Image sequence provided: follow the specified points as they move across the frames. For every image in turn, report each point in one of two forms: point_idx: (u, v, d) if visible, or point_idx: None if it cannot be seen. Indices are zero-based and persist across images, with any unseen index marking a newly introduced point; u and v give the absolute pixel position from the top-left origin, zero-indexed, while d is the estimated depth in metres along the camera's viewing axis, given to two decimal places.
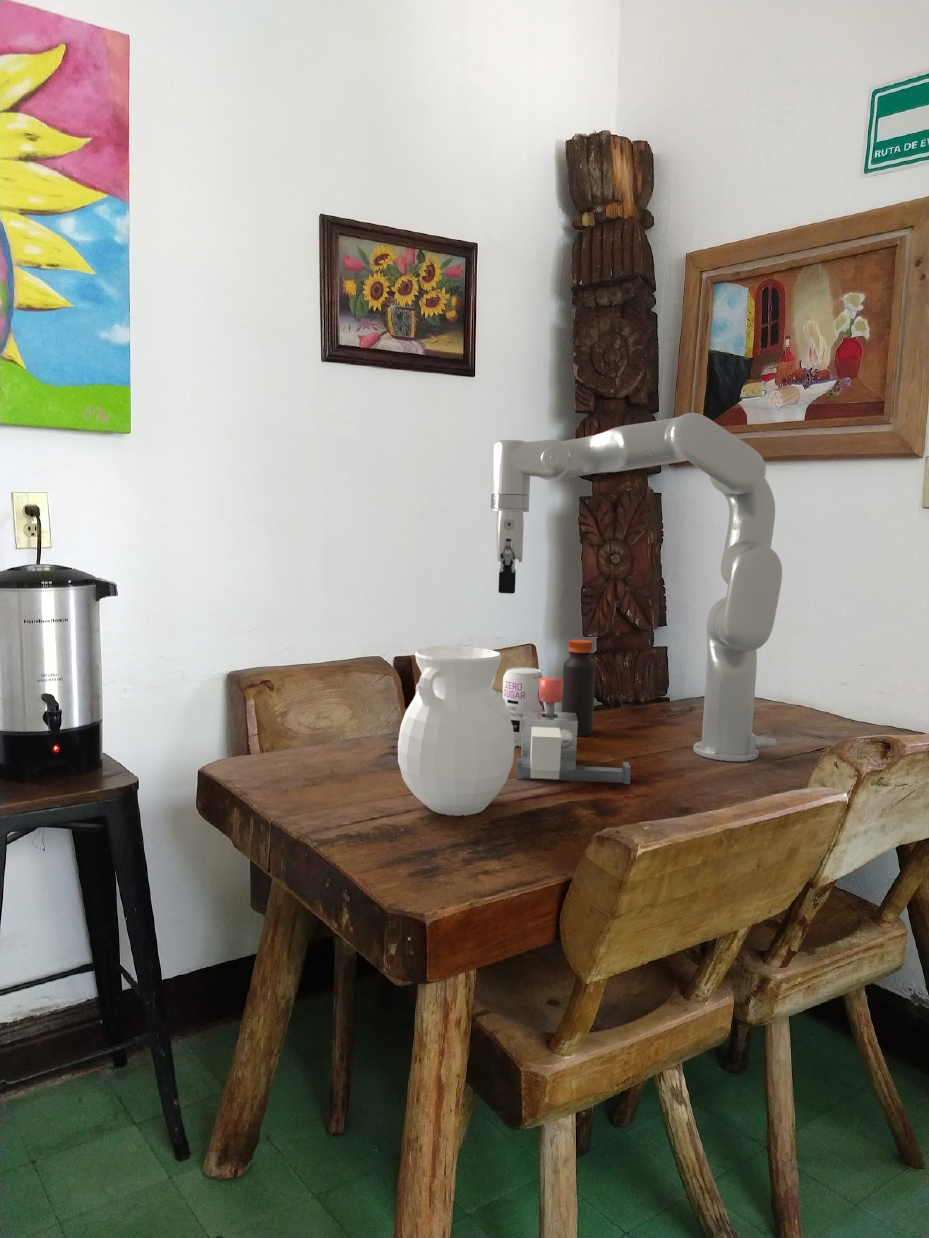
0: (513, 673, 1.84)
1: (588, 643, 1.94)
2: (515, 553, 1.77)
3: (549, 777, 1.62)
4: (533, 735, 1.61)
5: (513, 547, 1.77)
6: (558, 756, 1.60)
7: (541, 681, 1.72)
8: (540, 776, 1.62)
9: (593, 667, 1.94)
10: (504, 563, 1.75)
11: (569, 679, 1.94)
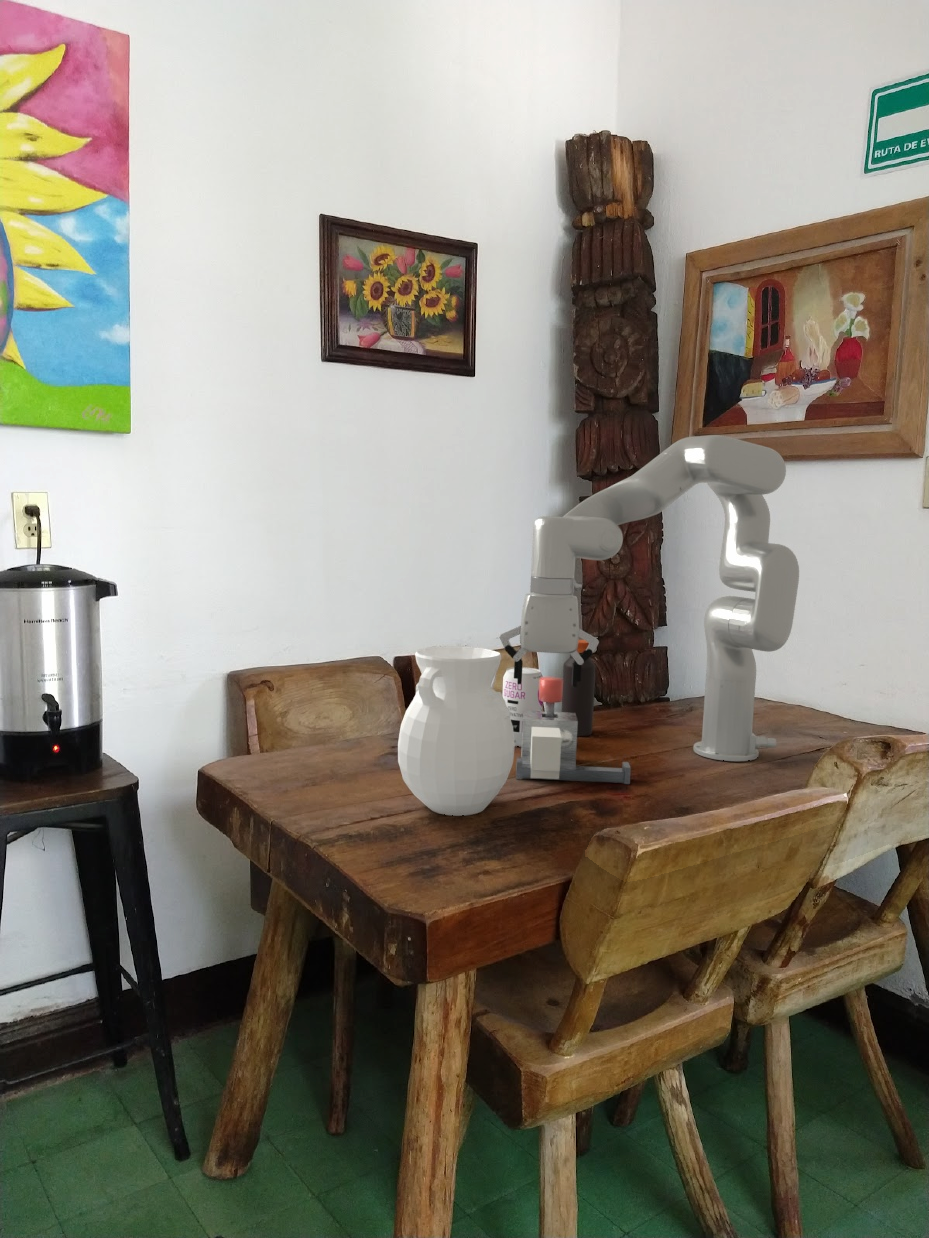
0: (513, 673, 1.84)
1: (588, 643, 1.94)
2: None
3: (549, 777, 1.62)
4: (533, 735, 1.61)
5: None
6: (558, 756, 1.60)
7: (541, 681, 1.72)
8: (540, 776, 1.62)
9: (593, 667, 1.94)
10: (592, 653, 1.61)
11: (569, 679, 1.94)
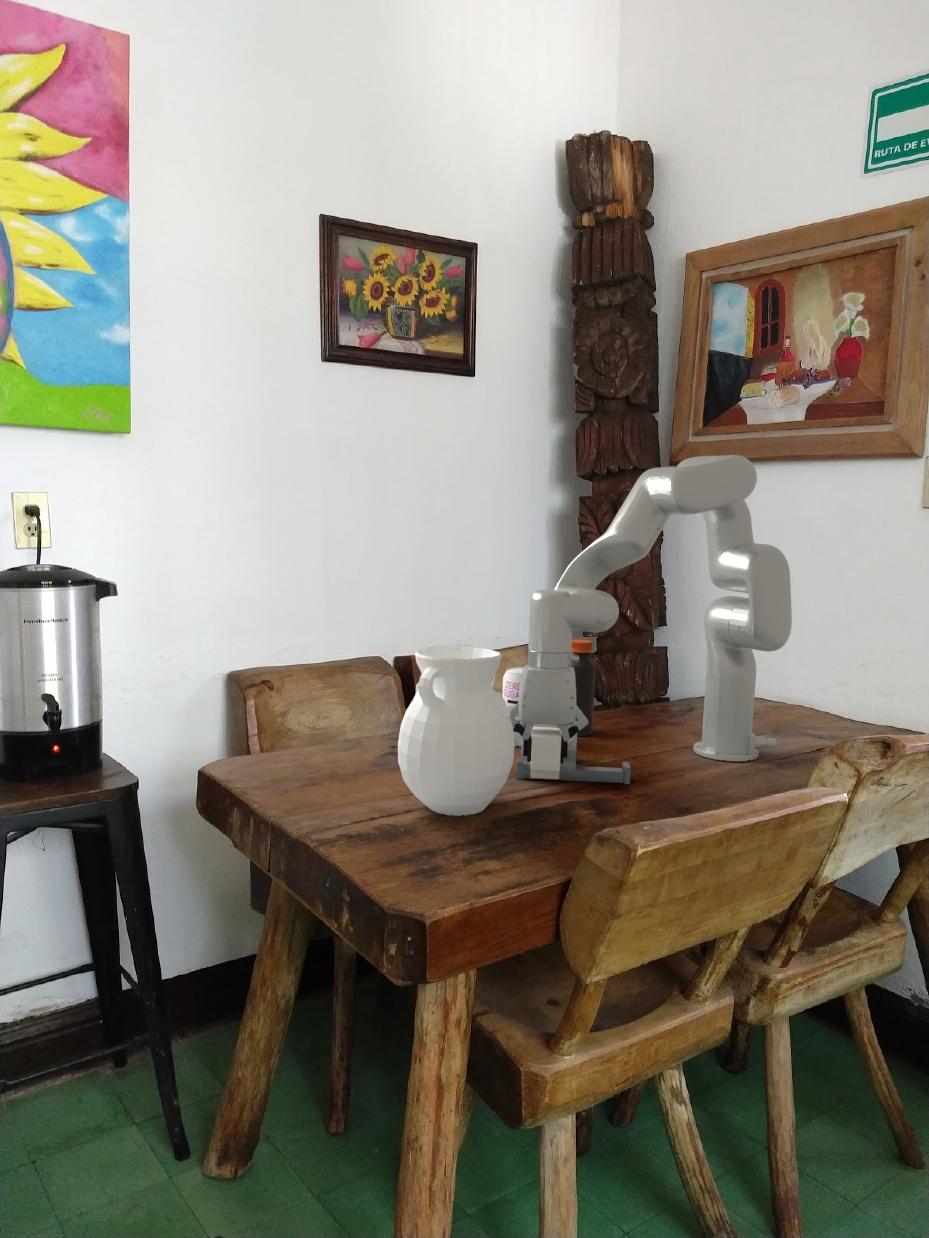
0: (513, 673, 1.84)
1: (588, 643, 1.94)
2: None
3: (549, 777, 1.62)
4: (533, 735, 1.61)
5: None
6: (558, 756, 1.60)
7: None
8: (540, 776, 1.62)
9: (593, 667, 1.94)
10: (578, 730, 1.63)
11: None
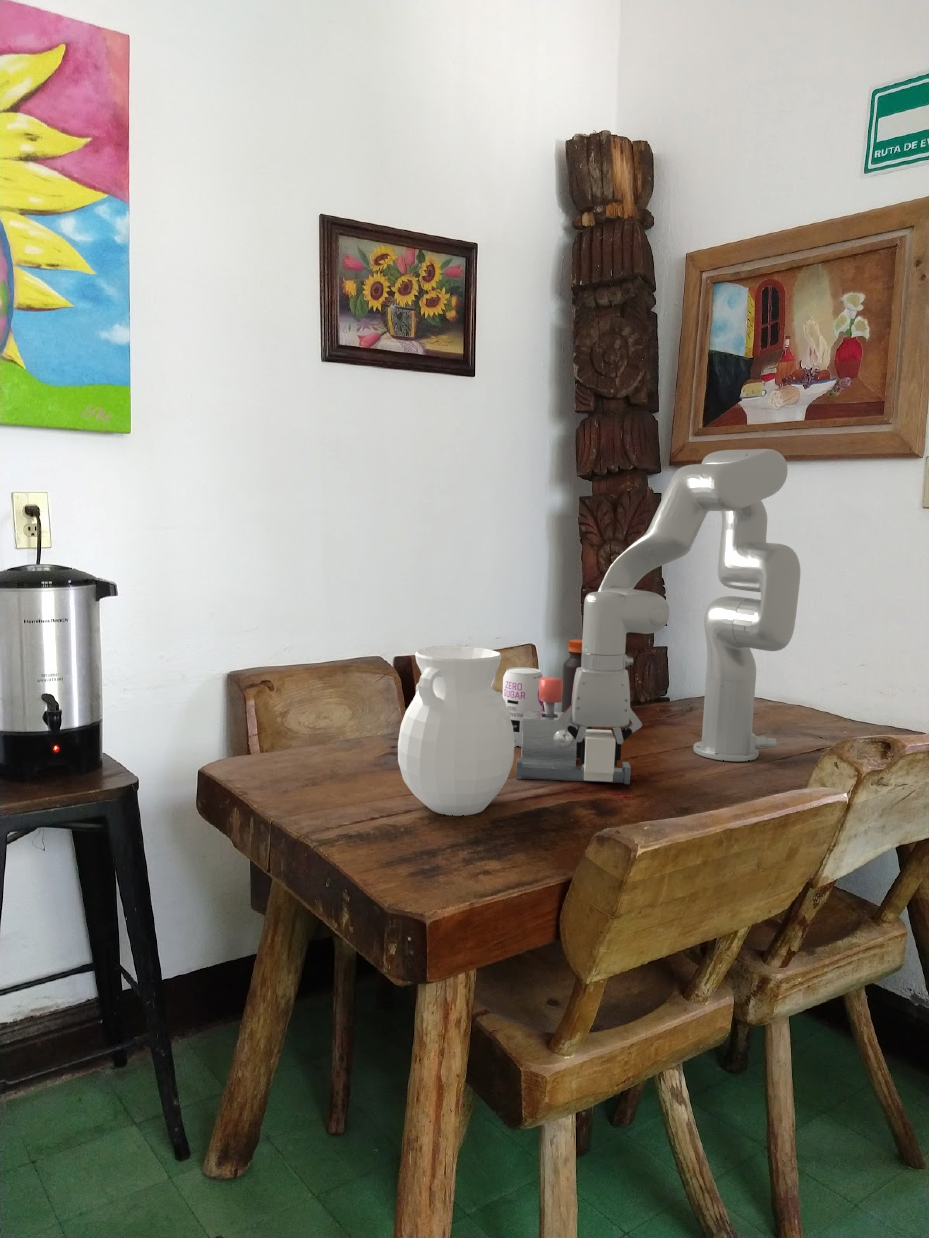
0: (513, 673, 1.84)
1: None
2: None
3: (603, 779, 1.62)
4: (587, 737, 1.60)
5: None
6: (612, 758, 1.60)
7: (541, 681, 1.72)
8: (594, 778, 1.62)
9: None
10: (631, 733, 1.62)
11: (569, 679, 1.94)
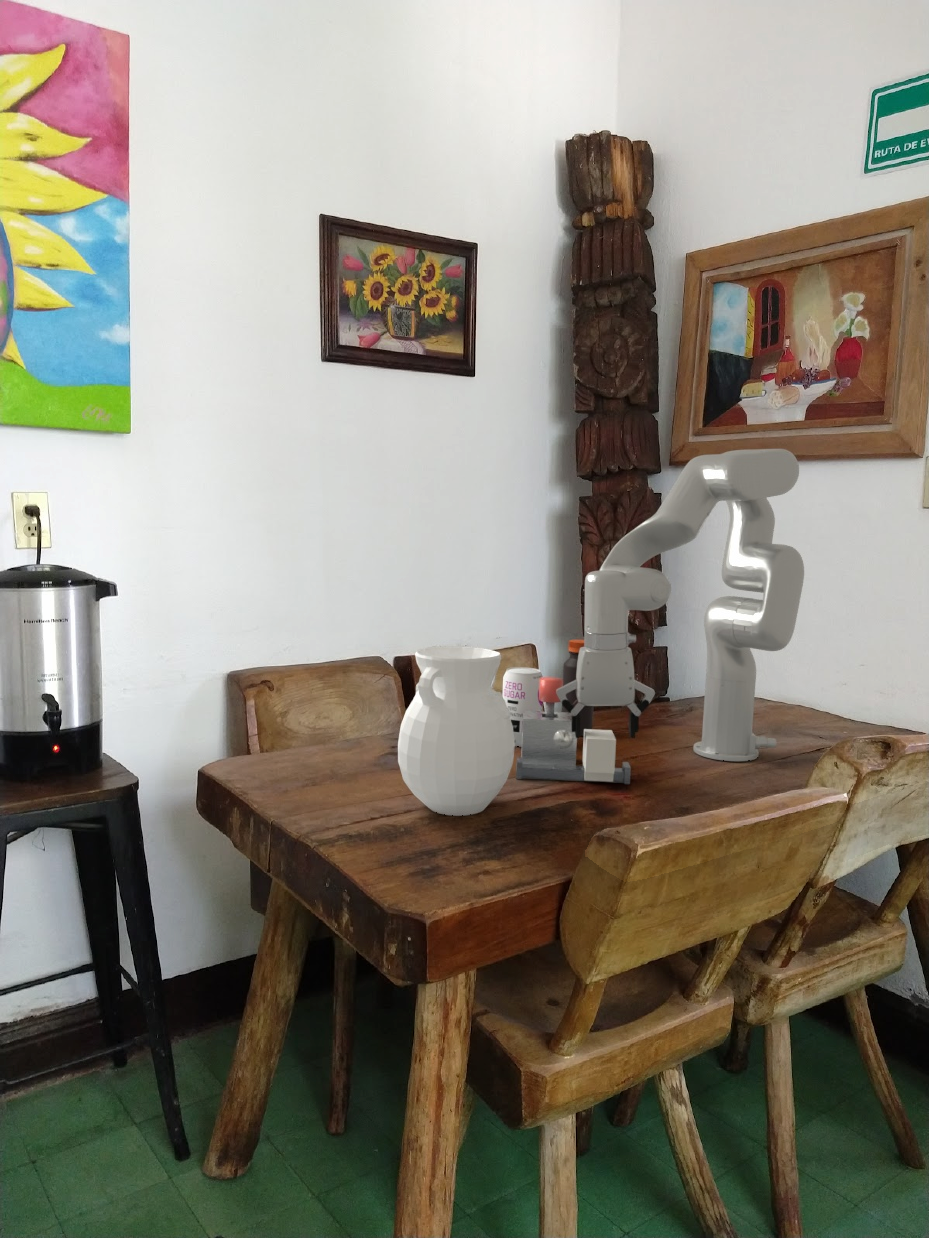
0: (513, 673, 1.84)
1: None
2: None
3: (603, 779, 1.62)
4: (587, 737, 1.60)
5: None
6: (613, 758, 1.60)
7: (541, 681, 1.72)
8: (594, 778, 1.62)
9: None
10: (648, 704, 1.62)
11: (569, 679, 1.94)
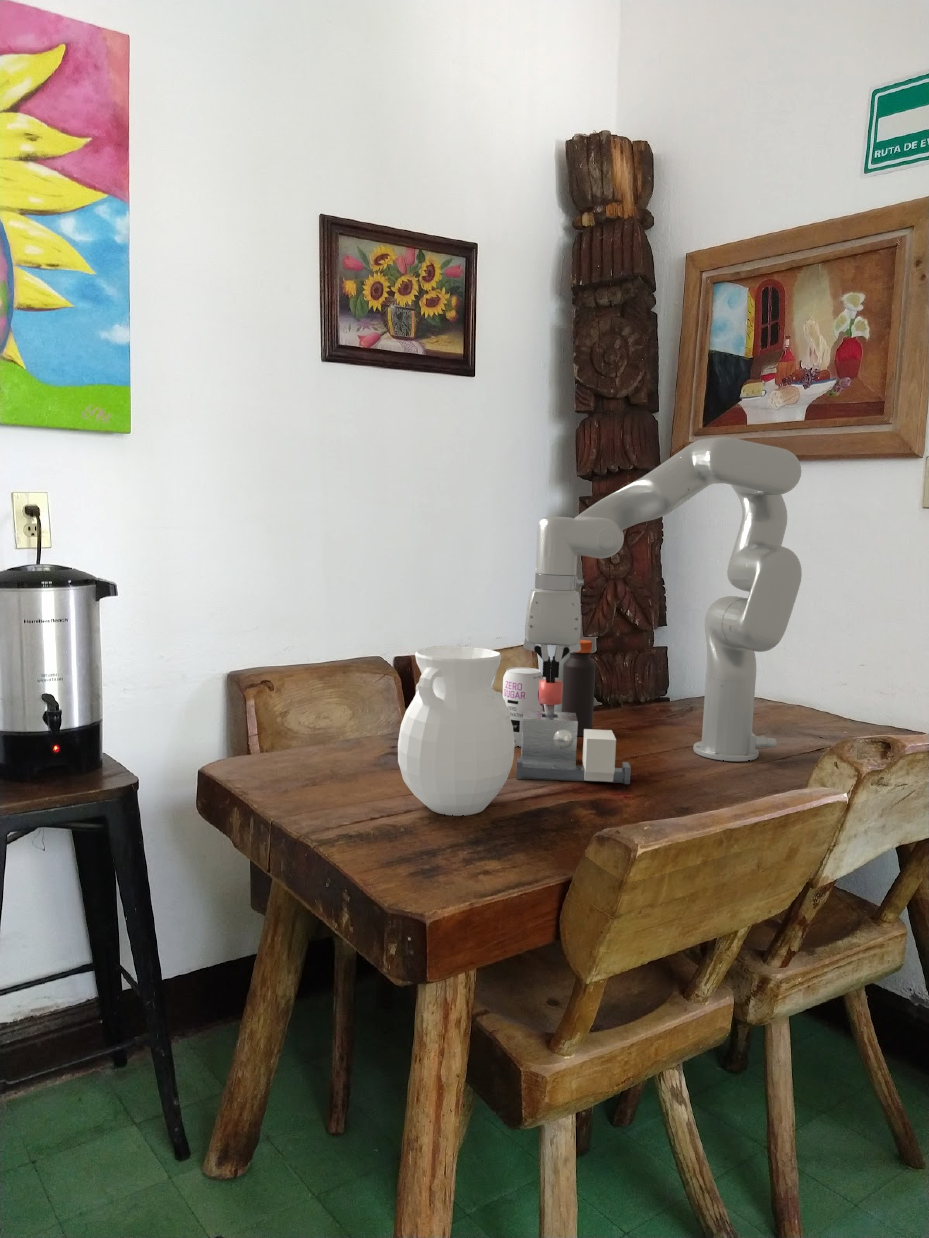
0: (513, 673, 1.84)
1: (588, 643, 1.94)
2: None
3: (603, 779, 1.62)
4: (587, 737, 1.60)
5: None
6: (613, 758, 1.60)
7: (541, 683, 1.72)
8: (594, 778, 1.62)
9: (593, 667, 1.94)
10: (569, 651, 1.71)
11: (569, 679, 1.94)
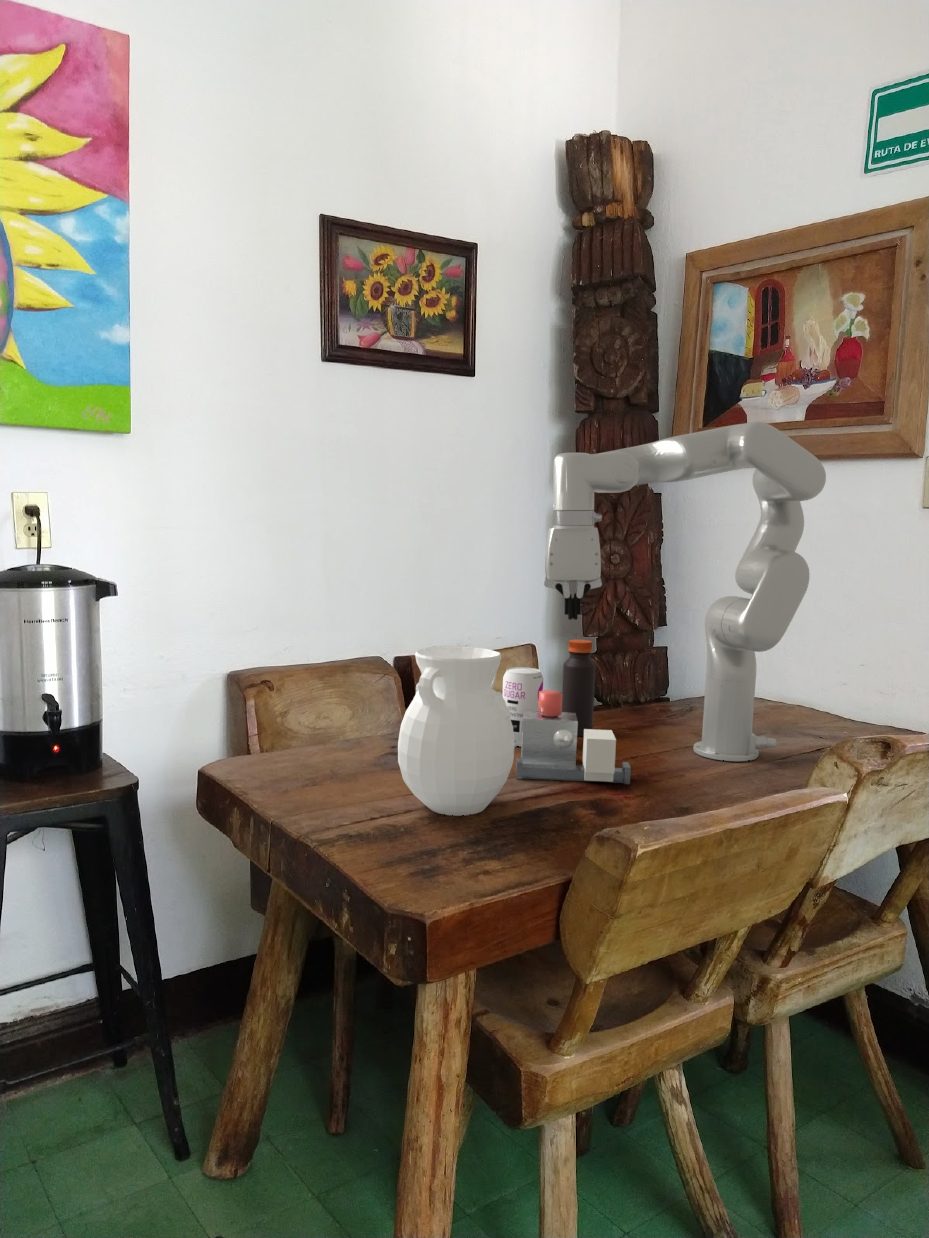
0: (513, 673, 1.84)
1: (588, 643, 1.94)
2: None
3: (603, 779, 1.62)
4: (587, 737, 1.60)
5: None
6: (613, 758, 1.60)
7: (540, 694, 1.72)
8: (594, 778, 1.62)
9: (593, 667, 1.94)
10: (590, 587, 1.71)
11: (569, 679, 1.94)
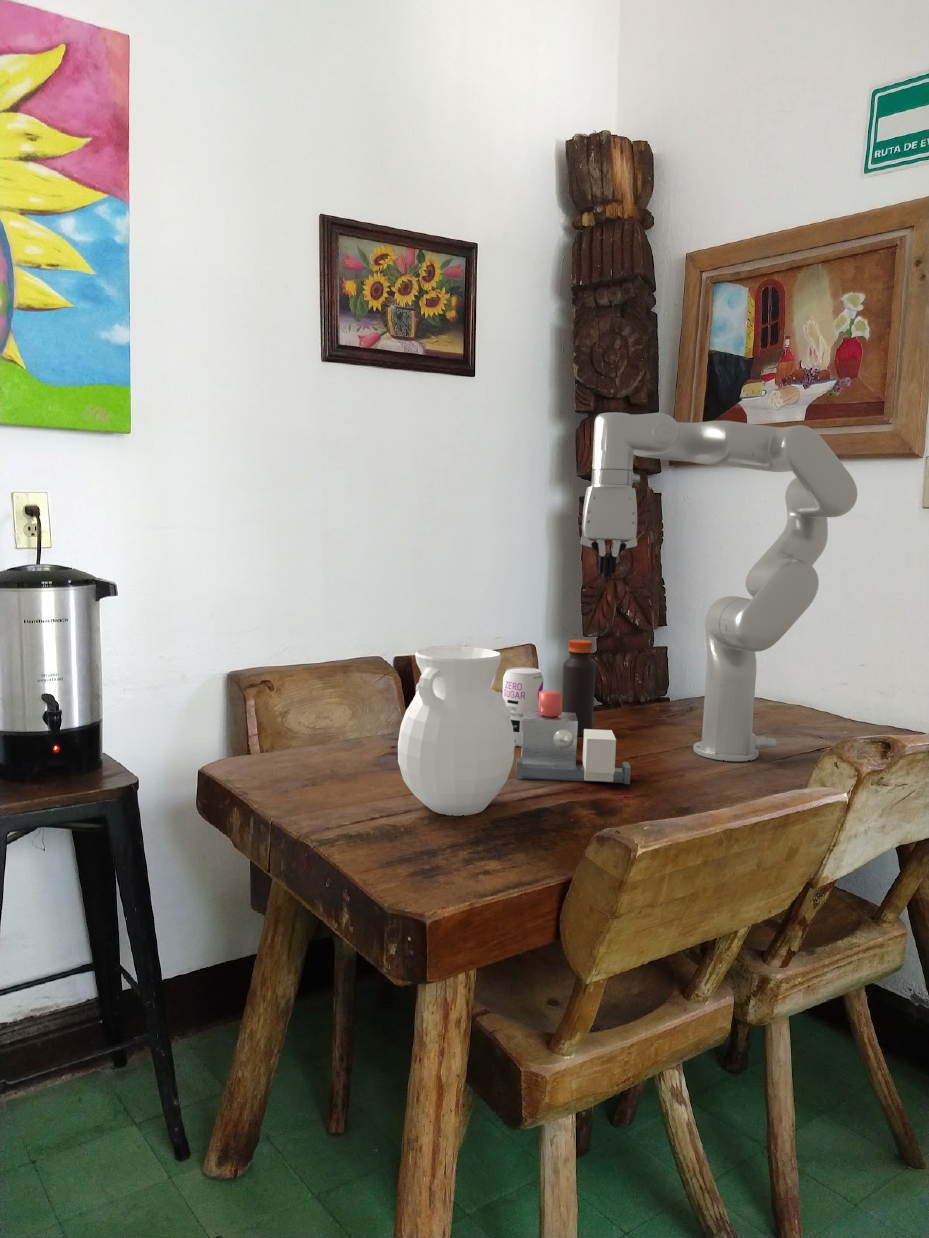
0: (513, 673, 1.84)
1: (588, 643, 1.94)
2: None
3: (603, 779, 1.62)
4: (587, 737, 1.60)
5: None
6: (613, 758, 1.60)
7: (540, 694, 1.72)
8: (594, 778, 1.62)
9: (593, 667, 1.94)
10: (625, 546, 1.74)
11: (569, 679, 1.94)
